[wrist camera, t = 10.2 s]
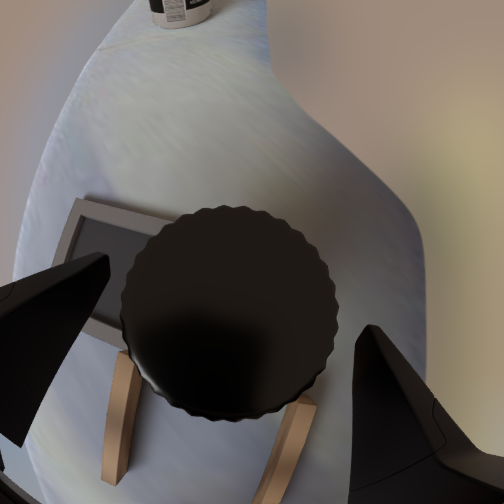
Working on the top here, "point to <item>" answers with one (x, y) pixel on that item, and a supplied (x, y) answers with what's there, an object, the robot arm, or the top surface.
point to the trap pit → (116, 246)
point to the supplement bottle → (229, 313)
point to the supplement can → (179, 12)
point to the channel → (123, 421)
